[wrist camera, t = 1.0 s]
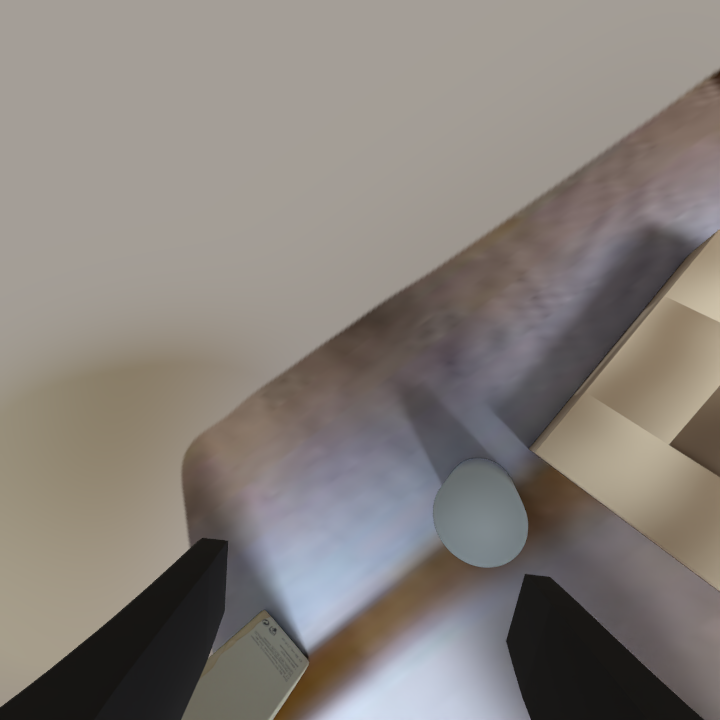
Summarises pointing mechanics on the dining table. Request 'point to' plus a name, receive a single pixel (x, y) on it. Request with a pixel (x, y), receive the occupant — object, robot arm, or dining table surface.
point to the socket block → (655, 420)
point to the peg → (480, 514)
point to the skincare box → (248, 675)
